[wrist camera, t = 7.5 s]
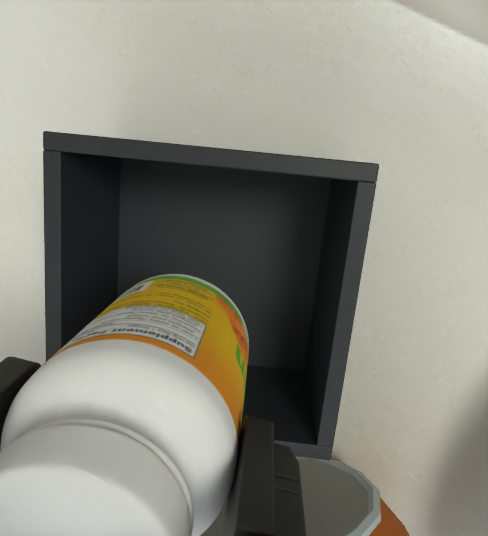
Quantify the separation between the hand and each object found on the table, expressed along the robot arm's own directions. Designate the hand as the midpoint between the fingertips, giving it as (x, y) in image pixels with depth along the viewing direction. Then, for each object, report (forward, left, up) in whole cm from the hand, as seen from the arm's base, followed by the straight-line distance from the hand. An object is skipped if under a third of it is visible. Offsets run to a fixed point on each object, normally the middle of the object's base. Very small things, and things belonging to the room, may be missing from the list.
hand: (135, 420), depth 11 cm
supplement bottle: (0, 0, -6) cm, 6 cm away
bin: (0, 0, -18) cm, 18 cm away
